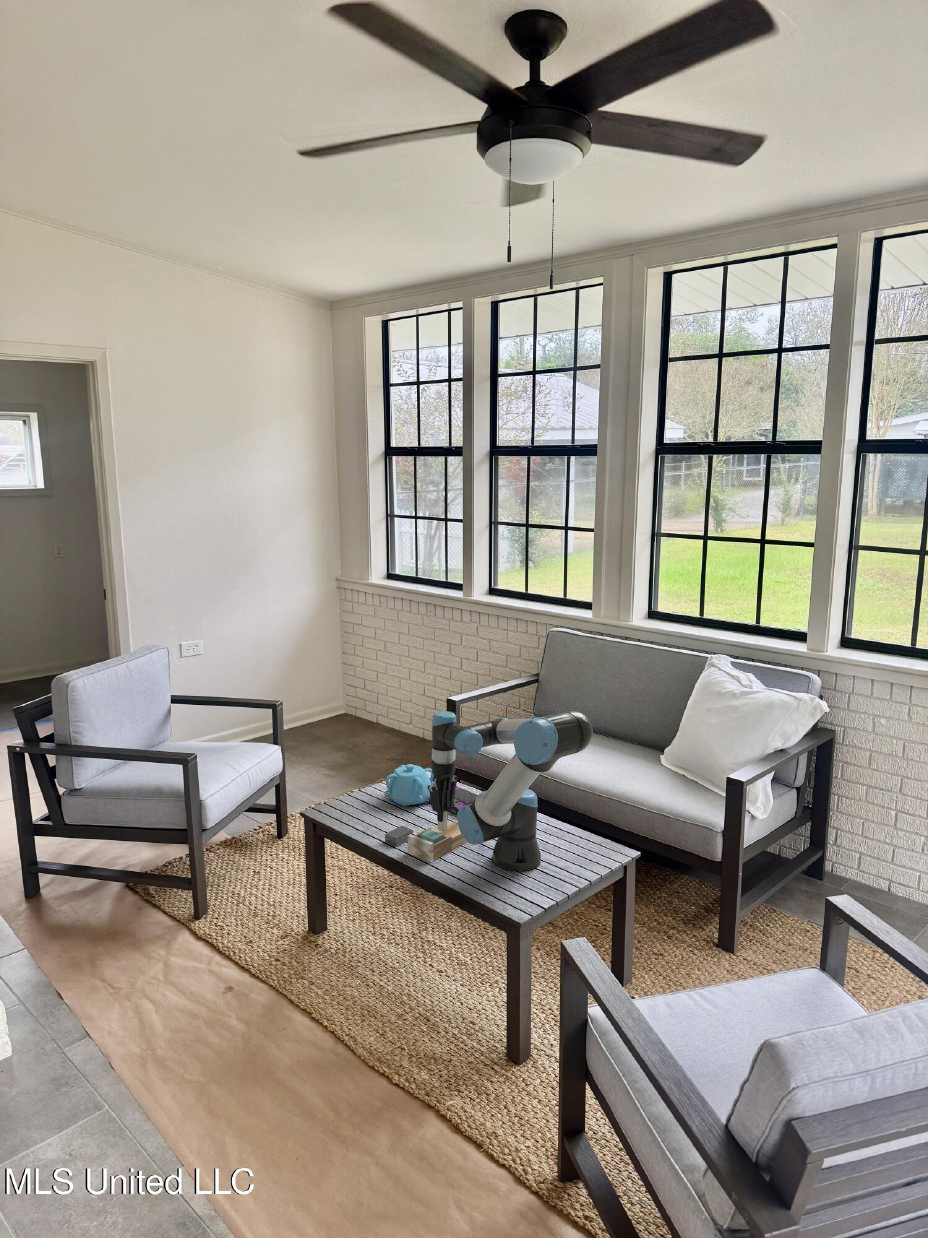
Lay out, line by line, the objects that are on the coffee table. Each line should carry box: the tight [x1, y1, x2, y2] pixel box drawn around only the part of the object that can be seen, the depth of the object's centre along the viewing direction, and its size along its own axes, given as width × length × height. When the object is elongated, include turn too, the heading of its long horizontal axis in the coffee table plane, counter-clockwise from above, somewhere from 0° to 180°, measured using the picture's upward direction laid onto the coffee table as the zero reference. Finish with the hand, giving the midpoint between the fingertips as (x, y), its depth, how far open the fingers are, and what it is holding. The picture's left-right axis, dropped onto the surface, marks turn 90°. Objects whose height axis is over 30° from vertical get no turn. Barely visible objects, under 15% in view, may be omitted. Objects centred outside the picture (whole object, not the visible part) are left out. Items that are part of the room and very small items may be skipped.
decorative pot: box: [383, 763, 434, 807], centre depth 296 cm, size 16×16×14 cm
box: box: [428, 785, 479, 816], centre depth 293 cm, size 14×4×20 cm
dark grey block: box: [384, 825, 414, 848], centre depth 264 cm, size 5×8×3 cm, turn 142°
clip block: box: [420, 829, 443, 844], centre depth 258 cm, size 6×6×4 cm
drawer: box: [407, 820, 468, 863], centre depth 260 cm, size 10×20×6 cm, turn 142°
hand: (442, 829), depth 261 cm, fingers closed
